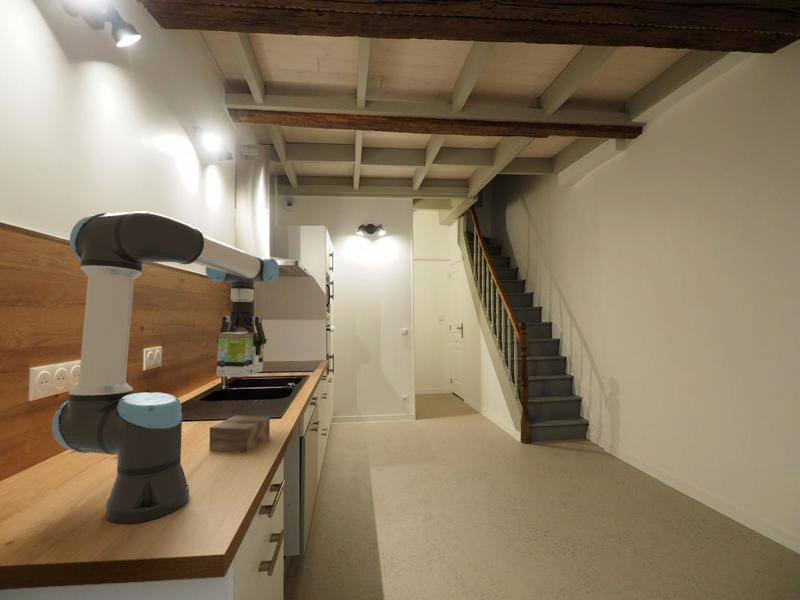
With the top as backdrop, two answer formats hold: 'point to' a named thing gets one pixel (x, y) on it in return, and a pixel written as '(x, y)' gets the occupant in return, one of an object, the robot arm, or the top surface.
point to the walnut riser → (239, 433)
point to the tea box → (237, 355)
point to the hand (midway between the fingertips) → (241, 364)
